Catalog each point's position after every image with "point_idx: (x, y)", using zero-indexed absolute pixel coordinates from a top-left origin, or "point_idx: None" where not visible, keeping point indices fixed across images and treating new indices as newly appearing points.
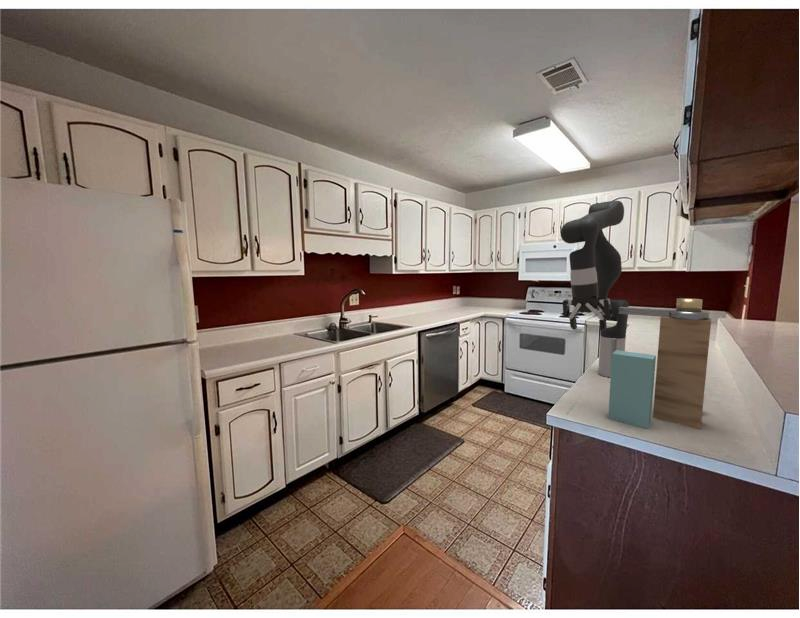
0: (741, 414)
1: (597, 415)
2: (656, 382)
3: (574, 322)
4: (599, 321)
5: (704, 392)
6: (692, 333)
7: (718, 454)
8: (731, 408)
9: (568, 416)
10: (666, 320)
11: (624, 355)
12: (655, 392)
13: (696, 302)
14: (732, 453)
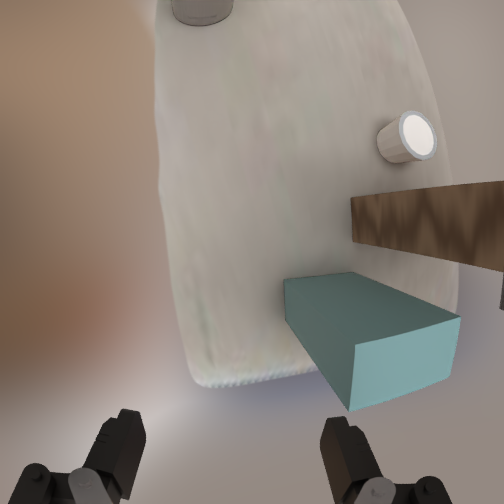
0: (438, 113)
1: (263, 321)
2: (402, 250)
3: (132, 472)
4: (335, 498)
5: (434, 135)
6: None
7: None
8: (425, 90)
9: (219, 370)
10: None
11: (385, 400)
12: (385, 247)
13: None
14: (437, 300)
